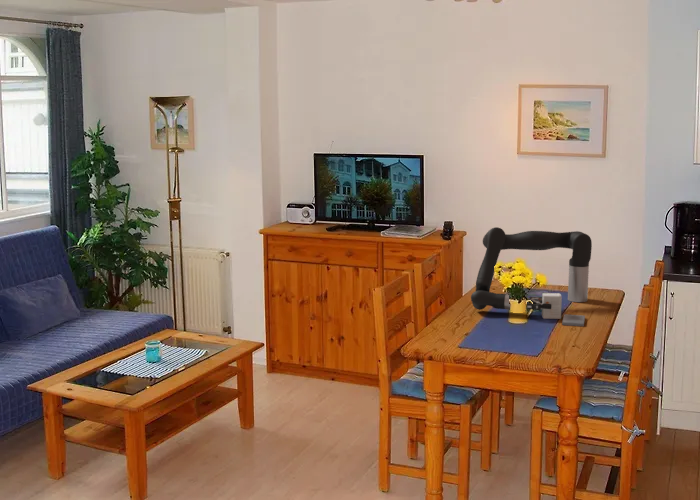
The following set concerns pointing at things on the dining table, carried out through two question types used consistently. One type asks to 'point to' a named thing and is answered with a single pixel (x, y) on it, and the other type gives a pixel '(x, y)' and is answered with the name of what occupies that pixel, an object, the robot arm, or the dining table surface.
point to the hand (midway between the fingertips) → (552, 304)
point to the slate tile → (573, 320)
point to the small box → (555, 301)
